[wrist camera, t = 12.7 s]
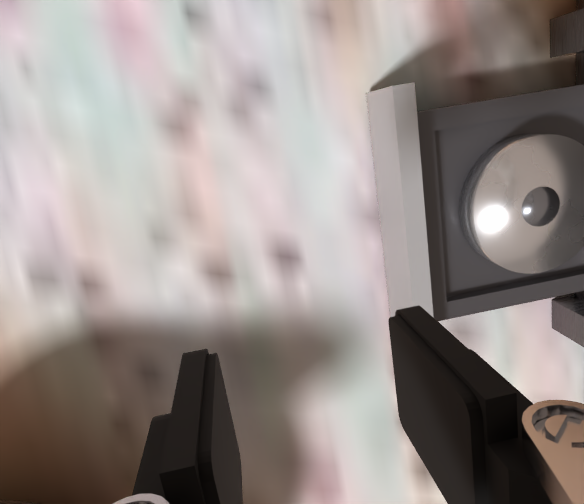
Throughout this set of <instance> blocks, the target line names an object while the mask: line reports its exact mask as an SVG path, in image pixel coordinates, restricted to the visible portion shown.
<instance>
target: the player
mask: <svg viewBox="0 0 584 504" xmlns="http://www.w3.org/2000/svg"><path fill="white" fill-rule="evenodd" d="M572 54H576V85H580V84H584V0H576V11H574V12H571V13H568V14H565V15H563V16H560V17H557V18H554V19H551V20H550V58H553V57H559V56H565V55H572ZM552 328H553V329H555V330H556V331H558V332H560V333H561V334H563V335H565V336H566V337H568V338H570V339H571V340H573V341H574V342H576V343H578V344H579V345H581V346H583V347H584V291H580V292H575V293H574V296H570V297H565V298H560V299H556V300H552Z"/></svg>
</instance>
